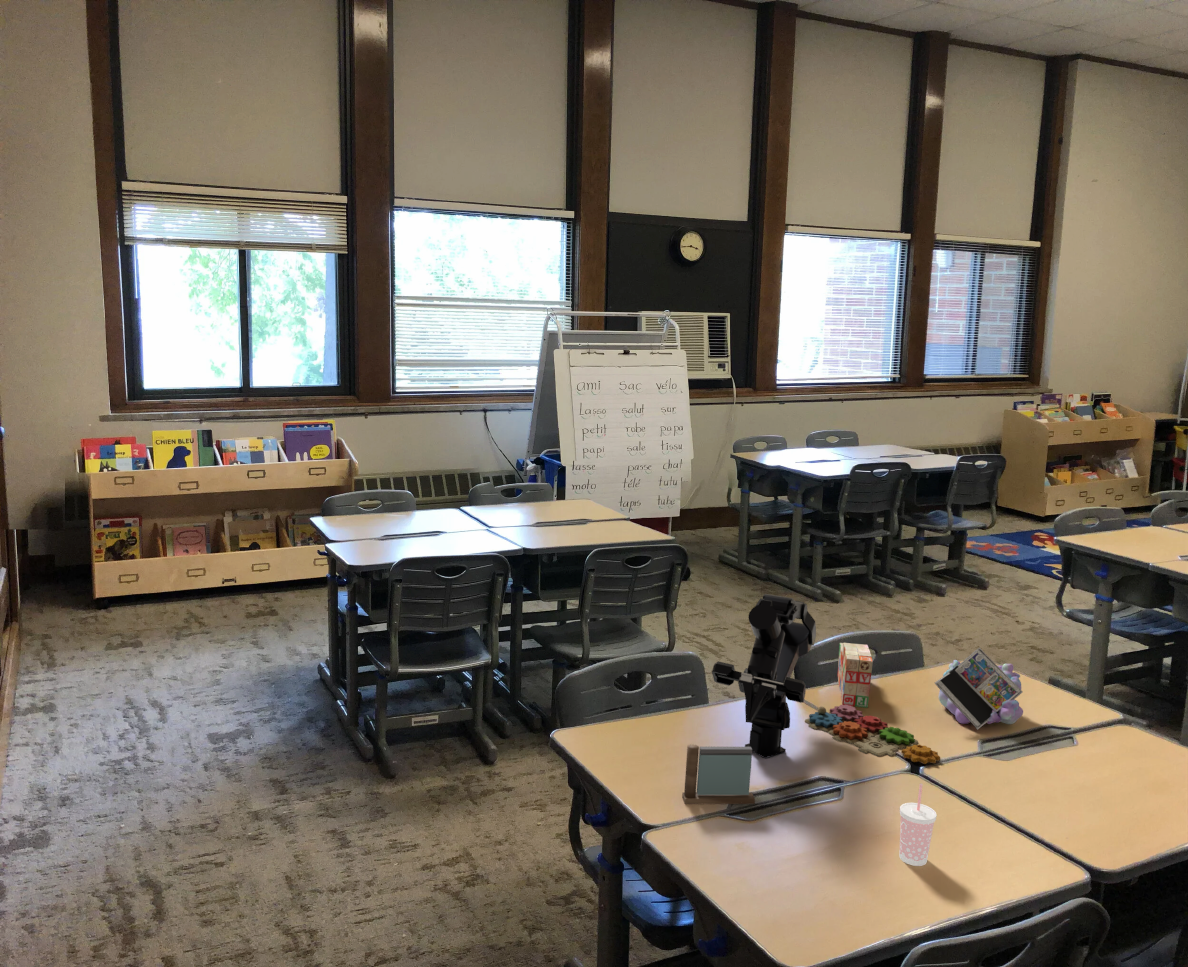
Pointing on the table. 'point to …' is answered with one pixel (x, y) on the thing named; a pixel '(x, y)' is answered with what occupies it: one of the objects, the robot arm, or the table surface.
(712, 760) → the panel
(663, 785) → the table surface
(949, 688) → the bubbly comic picture frame
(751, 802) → the brown l-shaped piece
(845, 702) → the stack of blocks
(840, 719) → the gear puzzle
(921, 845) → the beverage cup
